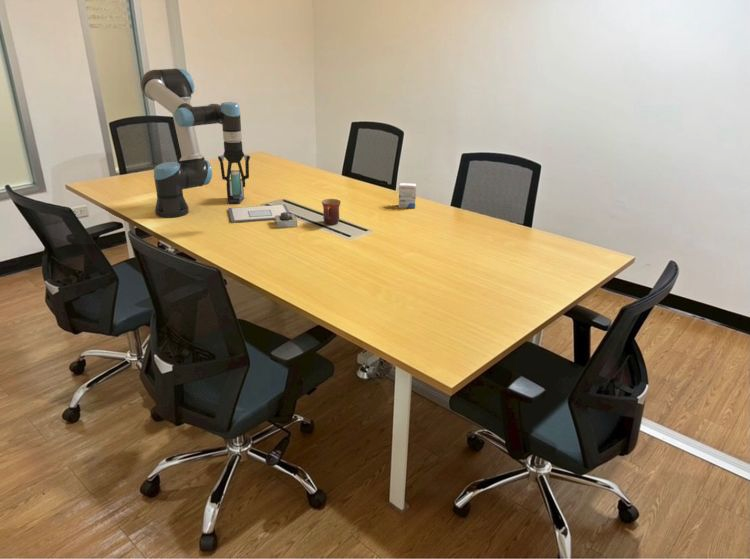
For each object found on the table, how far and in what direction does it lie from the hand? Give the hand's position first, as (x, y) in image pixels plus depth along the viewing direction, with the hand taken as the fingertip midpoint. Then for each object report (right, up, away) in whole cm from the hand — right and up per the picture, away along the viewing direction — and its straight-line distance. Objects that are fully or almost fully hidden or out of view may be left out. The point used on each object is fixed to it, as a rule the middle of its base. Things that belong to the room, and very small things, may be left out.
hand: (236, 194), depth 249 cm
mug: (+40, -12, +15) cm, 44 cm away
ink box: (+77, 0, +41) cm, 87 cm away
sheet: (+5, -6, +24) cm, 25 cm away
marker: (0, -2, +1) cm, 2 cm away
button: (+20, -10, +11) cm, 25 cm away
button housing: (+20, -12, +12) cm, 26 cm away
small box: (-11, +3, +42) cm, 44 cm away
